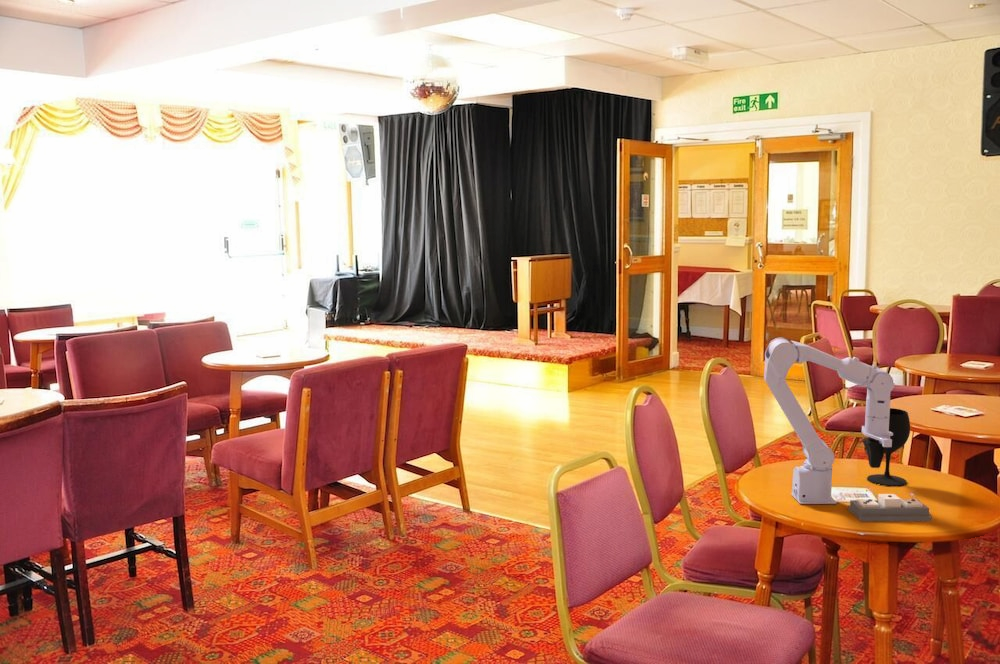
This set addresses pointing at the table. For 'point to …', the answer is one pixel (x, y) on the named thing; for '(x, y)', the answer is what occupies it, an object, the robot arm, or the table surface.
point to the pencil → (918, 500)
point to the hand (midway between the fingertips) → (874, 467)
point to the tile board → (889, 513)
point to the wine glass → (894, 447)
